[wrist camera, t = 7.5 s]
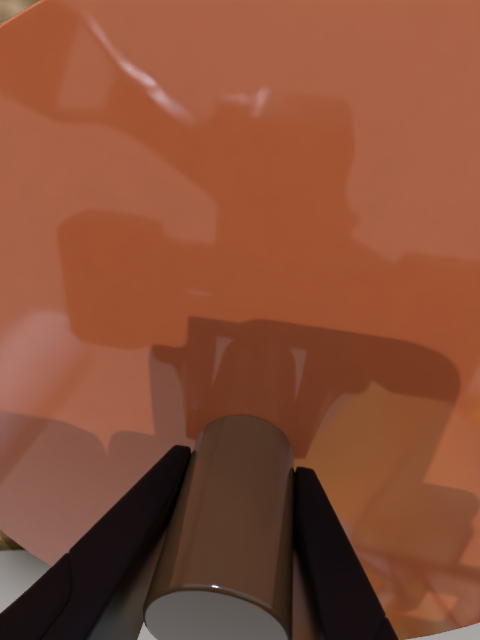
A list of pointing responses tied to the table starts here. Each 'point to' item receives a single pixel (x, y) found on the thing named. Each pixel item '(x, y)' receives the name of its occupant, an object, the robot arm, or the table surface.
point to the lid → (246, 292)
